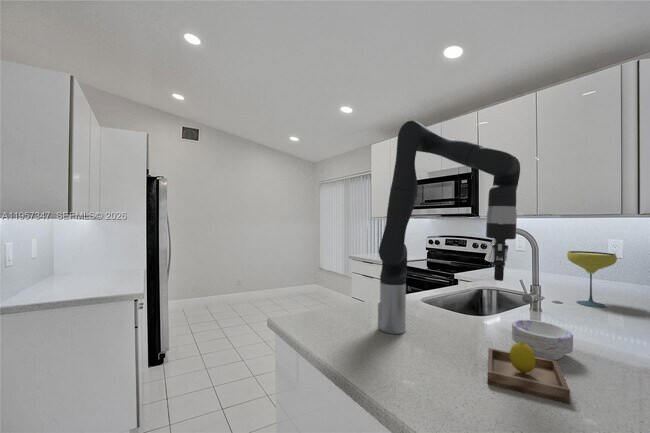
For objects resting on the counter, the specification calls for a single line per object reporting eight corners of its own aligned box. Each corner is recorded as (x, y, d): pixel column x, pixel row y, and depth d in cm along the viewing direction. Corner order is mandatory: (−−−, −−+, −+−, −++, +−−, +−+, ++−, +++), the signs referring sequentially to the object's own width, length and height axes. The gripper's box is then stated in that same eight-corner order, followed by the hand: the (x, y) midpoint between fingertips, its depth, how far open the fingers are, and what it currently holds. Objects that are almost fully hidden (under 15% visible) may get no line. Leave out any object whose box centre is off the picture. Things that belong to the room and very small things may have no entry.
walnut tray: (487, 383, 74) (487, 371, 74) (488, 358, 88) (488, 347, 88) (569, 403, 67) (569, 390, 67) (556, 372, 80) (556, 360, 81)
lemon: (540, 379, 74) (539, 347, 74) (516, 378, 75) (515, 346, 75) (529, 368, 80) (528, 338, 80) (506, 367, 81) (505, 337, 81)
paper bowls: (577, 370, 81) (577, 341, 82) (511, 356, 90) (511, 329, 90) (568, 350, 94) (568, 324, 94) (511, 339, 102) (511, 316, 102)
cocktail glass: (578, 307, 141) (578, 254, 141) (560, 298, 158) (560, 250, 158) (626, 311, 136) (626, 256, 136) (602, 301, 153) (602, 251, 153)
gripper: (487, 221, 96) (485, 272, 96) (485, 221, 83) (482, 280, 83) (515, 222, 92) (513, 275, 92) (517, 222, 79) (514, 284, 80)
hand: (498, 277), depth 88 cm, fingers open, 8 cm apart
